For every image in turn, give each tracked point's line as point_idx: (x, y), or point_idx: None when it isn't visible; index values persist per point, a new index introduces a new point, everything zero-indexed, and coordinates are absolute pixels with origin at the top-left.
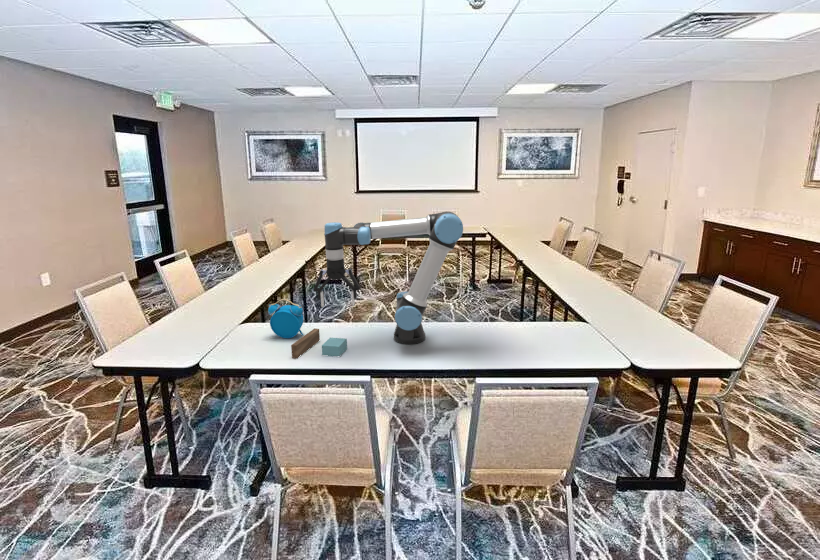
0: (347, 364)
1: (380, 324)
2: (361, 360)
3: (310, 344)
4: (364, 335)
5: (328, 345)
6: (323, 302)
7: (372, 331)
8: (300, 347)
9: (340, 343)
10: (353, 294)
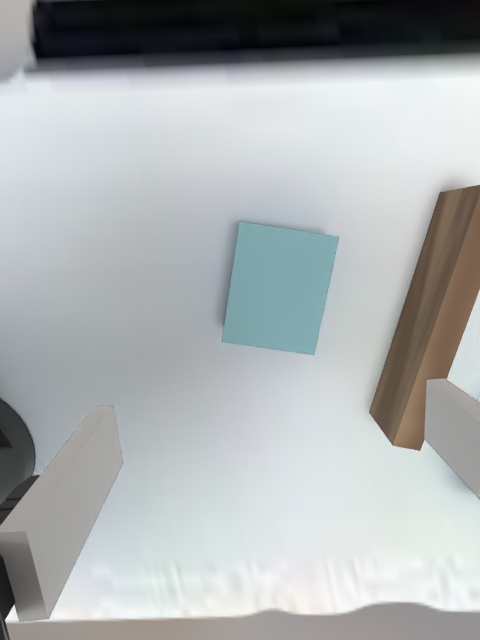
0: (180, 128)
1: (132, 602)
2: (124, 182)
3: (404, 331)
4: (176, 480)
5: (300, 237)
6: (446, 435)
7: (150, 525)
8: (451, 231)
9: (240, 270)
10: (27, 504)
